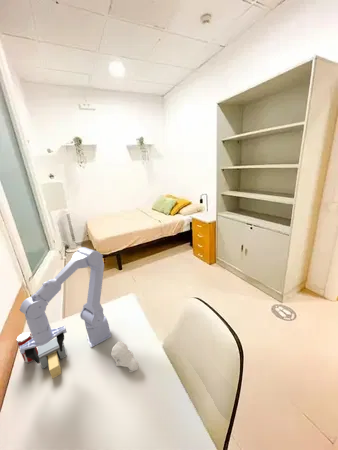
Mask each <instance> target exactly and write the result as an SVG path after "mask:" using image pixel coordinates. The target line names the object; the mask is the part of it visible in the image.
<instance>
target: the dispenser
mask: <svg viewBox="0 0 338 450" xmlns="http://www.w3.org/2000/svg"><path fill="white" fill-rule="evenodd" d="M37 350H38V356H39V361H40V363H39V364H40V366H41V369H44V368H45V369H46V367H49V363H48V355H50V354H52V353H53V352H55V351H58V356H59V360H62V359H64V358H65V357H66V356H67V352H66V348H65V343H64V342H63V344H62V350H63V351H62V352H60V347H59V344H58V342H57V337H55V338H53V339H52V340H51V341H49V342H48V343H46V344H44V345H42V346H38V347H37Z"/></svg>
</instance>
